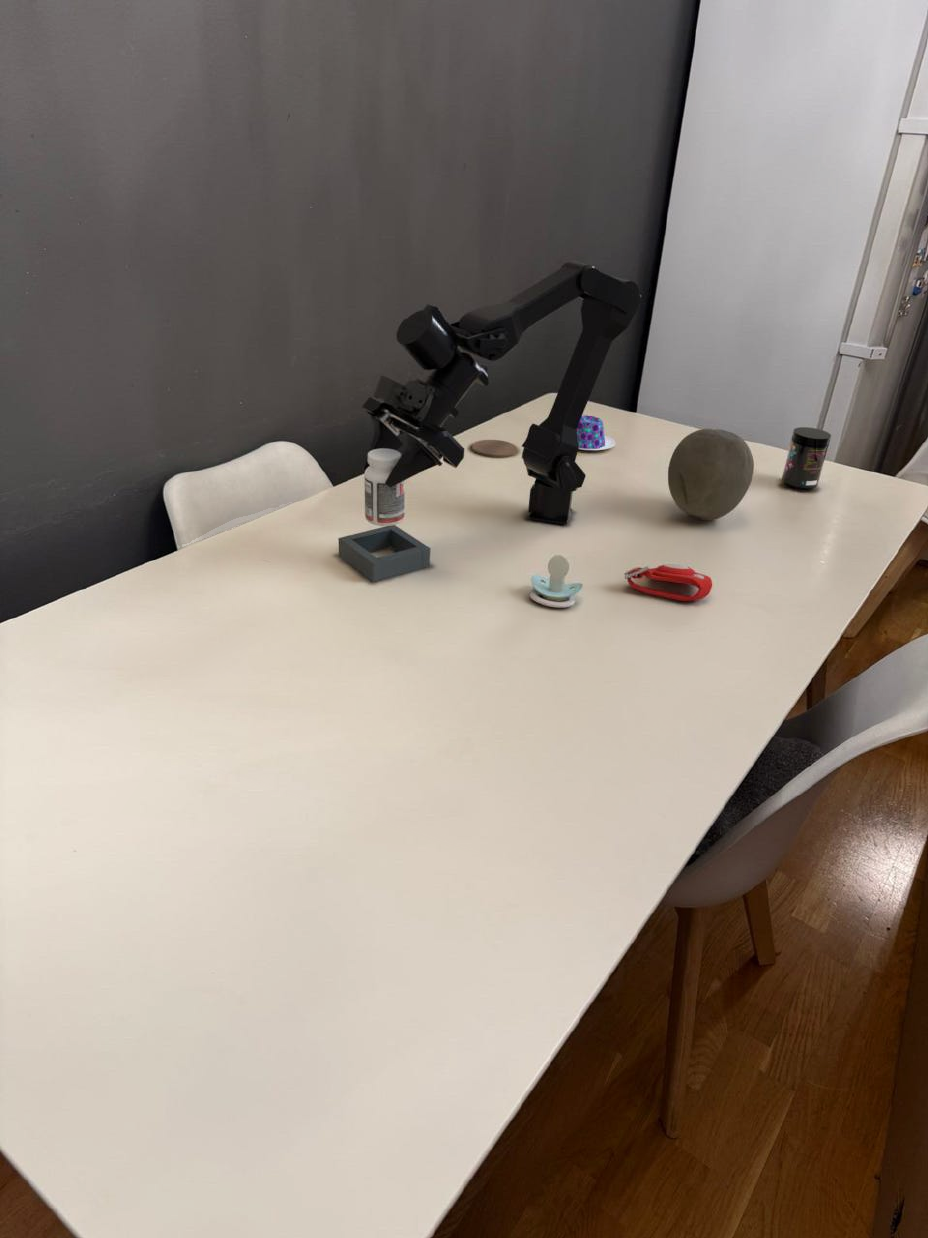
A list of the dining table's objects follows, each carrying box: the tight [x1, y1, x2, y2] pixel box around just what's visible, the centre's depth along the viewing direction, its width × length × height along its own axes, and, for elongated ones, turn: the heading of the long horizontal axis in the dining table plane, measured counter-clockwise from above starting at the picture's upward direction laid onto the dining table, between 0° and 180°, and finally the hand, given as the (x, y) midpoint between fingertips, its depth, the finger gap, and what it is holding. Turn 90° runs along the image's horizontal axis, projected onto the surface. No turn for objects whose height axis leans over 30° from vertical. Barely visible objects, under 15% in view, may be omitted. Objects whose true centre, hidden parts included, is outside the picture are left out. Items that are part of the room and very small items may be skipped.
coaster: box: [471, 439, 518, 458], centre depth 177 cm, size 9×9×1 cm
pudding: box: [577, 414, 616, 451], centre depth 182 cm, size 12×12×5 cm
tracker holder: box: [623, 564, 713, 602], centre depth 127 cm, size 12×4×10 cm
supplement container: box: [781, 426, 832, 492], centre depth 166 cm, size 7×7×10 cm
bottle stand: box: [337, 524, 431, 583], centre depth 131 cm, size 10×10×3 cm
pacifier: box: [529, 554, 583, 608], centre depth 123 cm, size 7×6×6 cm
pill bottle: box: [363, 448, 406, 527], centre depth 126 cm, size 6×6×10 cm
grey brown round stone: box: [667, 428, 755, 522], centre depth 150 cm, size 14×14×15 cm
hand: (376, 478), depth 124 cm, fingers closed on pill bottle, 6 cm apart
